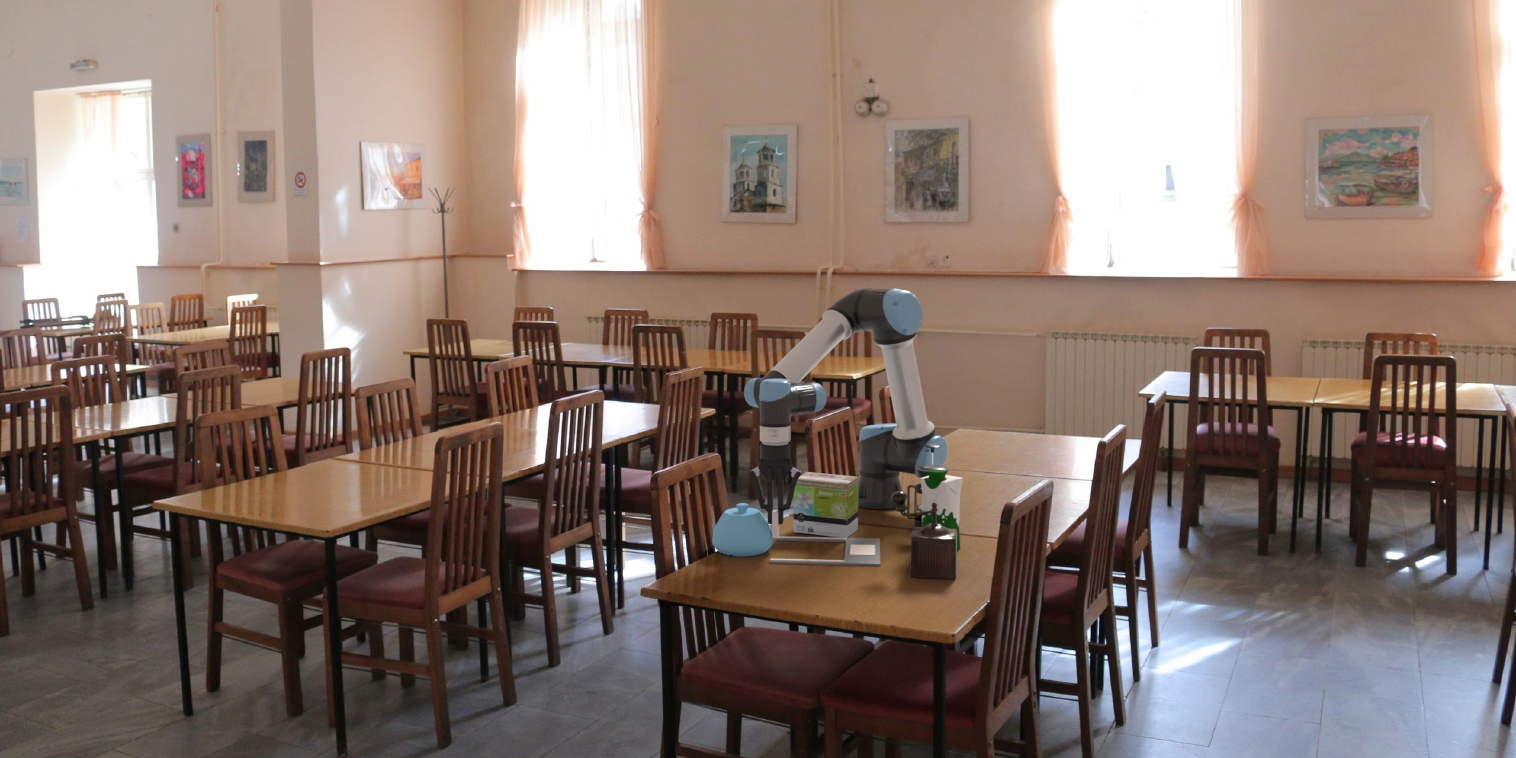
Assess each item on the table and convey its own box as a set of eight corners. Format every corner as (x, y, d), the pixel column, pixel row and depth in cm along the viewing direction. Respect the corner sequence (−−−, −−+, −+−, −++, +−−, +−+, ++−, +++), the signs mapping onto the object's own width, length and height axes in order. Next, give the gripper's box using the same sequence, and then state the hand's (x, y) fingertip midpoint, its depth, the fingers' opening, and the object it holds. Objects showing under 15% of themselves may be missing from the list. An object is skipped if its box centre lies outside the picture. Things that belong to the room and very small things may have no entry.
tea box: (792, 533, 302) (792, 478, 300) (805, 524, 312) (805, 470, 310) (847, 539, 297) (847, 482, 295) (859, 530, 306) (859, 475, 304)
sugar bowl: (744, 538, 298) (744, 494, 296) (785, 550, 287) (785, 504, 286) (699, 549, 288) (699, 503, 286) (740, 561, 277) (740, 514, 275)
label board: (777, 538, 298) (777, 535, 298) (879, 540, 295) (879, 537, 295) (769, 563, 275) (769, 560, 275) (880, 566, 273) (880, 563, 273)
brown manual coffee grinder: (957, 566, 272) (958, 491, 270) (956, 580, 261) (957, 502, 259) (890, 563, 275) (891, 488, 273) (887, 576, 264) (887, 499, 262)
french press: (955, 528, 307) (957, 443, 304) (947, 537, 298) (949, 449, 295) (912, 524, 311) (913, 440, 308) (902, 533, 302) (903, 446, 299)
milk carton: (915, 549, 287) (916, 469, 285) (936, 542, 294) (937, 464, 291) (945, 555, 281) (946, 474, 279) (966, 548, 288) (967, 469, 285)
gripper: (747, 444, 280) (747, 540, 283) (801, 445, 279) (801, 541, 282) (750, 439, 287) (750, 532, 290) (802, 440, 286) (802, 533, 289)
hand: (775, 536), depth 286 cm, fingers closed
